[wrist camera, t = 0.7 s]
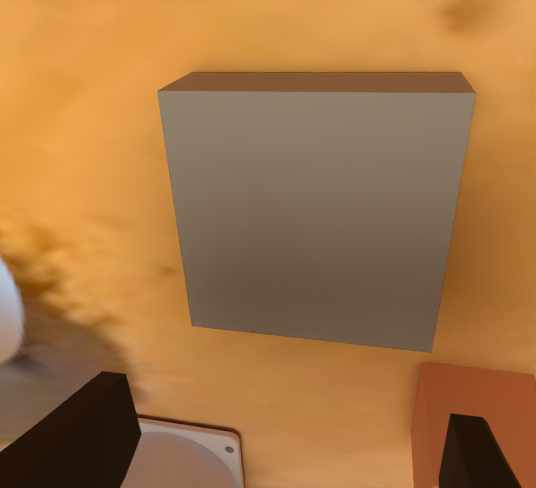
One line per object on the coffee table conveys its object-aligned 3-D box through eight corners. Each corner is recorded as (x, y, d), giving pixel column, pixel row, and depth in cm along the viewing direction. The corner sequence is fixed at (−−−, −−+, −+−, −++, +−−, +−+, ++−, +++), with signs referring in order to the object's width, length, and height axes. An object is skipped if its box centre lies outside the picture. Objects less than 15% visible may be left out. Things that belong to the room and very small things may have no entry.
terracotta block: (510, 444, 22) (546, 584, 17) (410, 430, 23) (417, 558, 18) (532, 374, 20) (581, 509, 15) (422, 361, 21) (433, 485, 16)
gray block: (425, 302, 20) (431, 352, 17) (215, 283, 21) (191, 326, 19) (460, 72, 15) (476, 93, 13) (191, 72, 17) (157, 90, 14)
